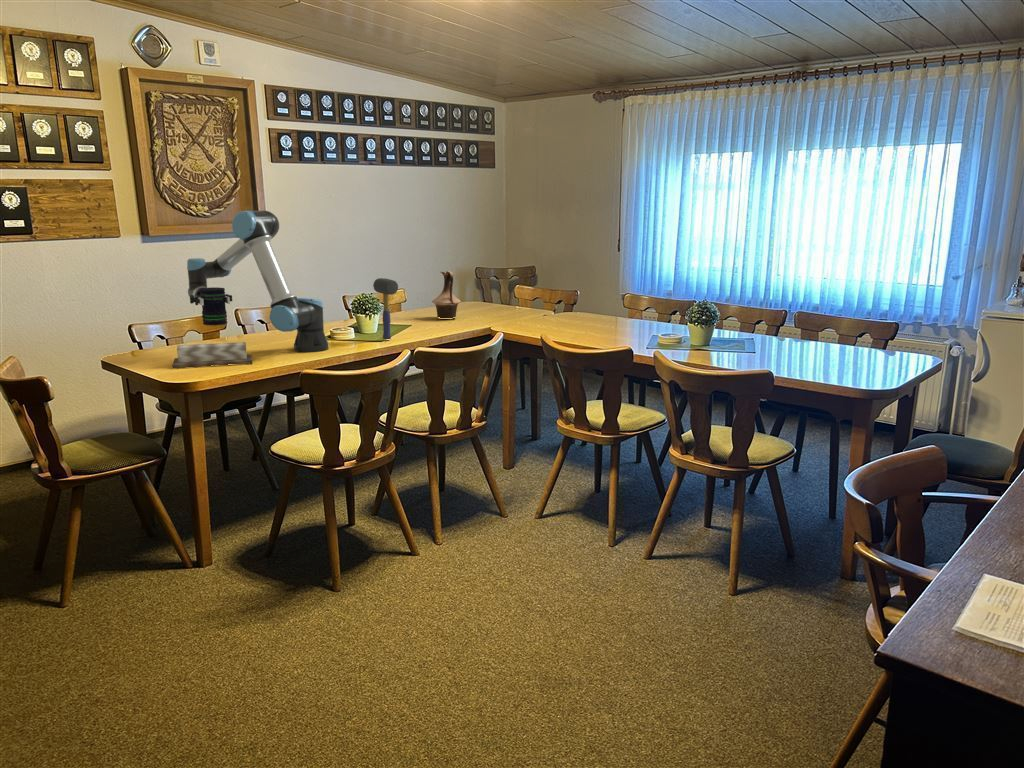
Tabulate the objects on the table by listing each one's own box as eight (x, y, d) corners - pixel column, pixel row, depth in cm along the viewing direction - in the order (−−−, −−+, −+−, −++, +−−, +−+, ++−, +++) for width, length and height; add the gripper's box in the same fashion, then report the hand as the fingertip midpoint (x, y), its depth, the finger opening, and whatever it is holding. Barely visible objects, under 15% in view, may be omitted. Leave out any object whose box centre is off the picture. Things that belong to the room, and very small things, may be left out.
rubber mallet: (373, 339, 357) (371, 277, 350) (386, 337, 362) (385, 277, 355) (387, 343, 348) (385, 280, 341) (400, 341, 353) (399, 279, 346)
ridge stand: (251, 357, 312) (250, 340, 310) (252, 364, 299) (251, 346, 297) (174, 361, 301) (173, 343, 299) (172, 368, 289) (170, 350, 287)
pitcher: (466, 320, 421) (466, 271, 415) (439, 322, 413) (439, 272, 406) (453, 316, 436) (453, 268, 429) (427, 317, 428) (426, 269, 421)
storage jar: (197, 324, 309) (194, 289, 306) (215, 321, 318) (212, 286, 314) (215, 326, 305) (212, 290, 302) (232, 323, 314) (230, 288, 311)
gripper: (230, 302, 331) (244, 308, 313) (177, 305, 318) (188, 312, 300) (229, 286, 329) (242, 291, 311) (175, 288, 316) (186, 293, 299)
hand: (215, 301), depth 306 cm, fingers closed on storage jar, 10 cm apart
